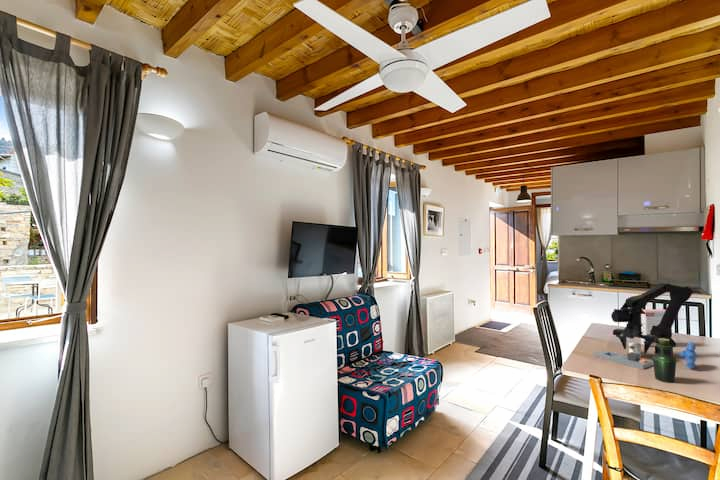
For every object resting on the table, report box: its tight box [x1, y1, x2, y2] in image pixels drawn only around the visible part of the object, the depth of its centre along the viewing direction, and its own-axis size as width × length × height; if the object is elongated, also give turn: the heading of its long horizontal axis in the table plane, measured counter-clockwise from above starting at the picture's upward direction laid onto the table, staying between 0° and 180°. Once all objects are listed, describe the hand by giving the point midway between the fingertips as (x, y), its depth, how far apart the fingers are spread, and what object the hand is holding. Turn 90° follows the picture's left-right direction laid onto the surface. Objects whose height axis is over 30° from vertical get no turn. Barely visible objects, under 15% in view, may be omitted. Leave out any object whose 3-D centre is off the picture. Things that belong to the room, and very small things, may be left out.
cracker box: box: [639, 308, 673, 348], centre depth 209 cm, size 14×6×21 cm, turn 84°
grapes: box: [678, 342, 699, 370], centre depth 174 cm, size 12×7×12 cm, turn 135°
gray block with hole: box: [593, 349, 654, 370], centre depth 184 cm, size 22×10×5 cm, turn 29°
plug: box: [628, 341, 642, 358], centre depth 190 cm, size 4×6×7 cm, turn 119°
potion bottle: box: [652, 338, 678, 383], centre depth 159 cm, size 8×8×18 cm
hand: (634, 351), depth 190 cm, fingers open, 9 cm apart
